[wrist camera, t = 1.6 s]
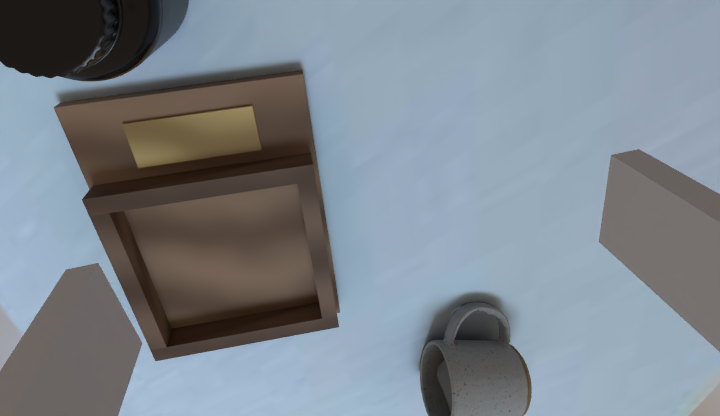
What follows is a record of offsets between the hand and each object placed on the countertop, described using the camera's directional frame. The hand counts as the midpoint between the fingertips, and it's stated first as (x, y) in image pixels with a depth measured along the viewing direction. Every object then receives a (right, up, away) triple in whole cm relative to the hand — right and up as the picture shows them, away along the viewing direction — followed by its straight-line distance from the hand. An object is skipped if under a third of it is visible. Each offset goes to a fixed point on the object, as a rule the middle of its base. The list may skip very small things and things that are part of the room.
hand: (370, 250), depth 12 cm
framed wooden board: (-10, 0, +22) cm, 24 cm away
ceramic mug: (+9, -12, +33) cm, 36 cm away
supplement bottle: (-13, +14, +14) cm, 24 cm away
